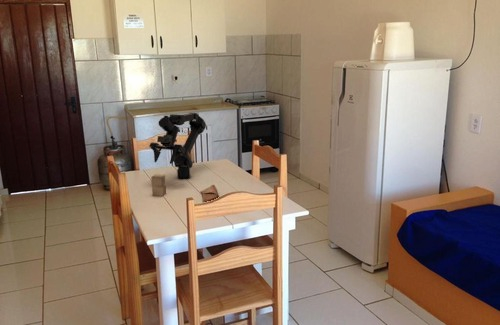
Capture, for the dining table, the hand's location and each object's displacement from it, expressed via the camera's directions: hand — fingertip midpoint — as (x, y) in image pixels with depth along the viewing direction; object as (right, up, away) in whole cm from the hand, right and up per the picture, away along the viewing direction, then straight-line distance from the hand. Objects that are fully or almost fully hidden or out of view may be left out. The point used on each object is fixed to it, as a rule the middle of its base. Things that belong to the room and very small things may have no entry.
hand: (162, 162), depth 228 cm
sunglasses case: (+25, -17, -10) cm, 32 cm away
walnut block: (0, -16, -6) cm, 17 cm away
